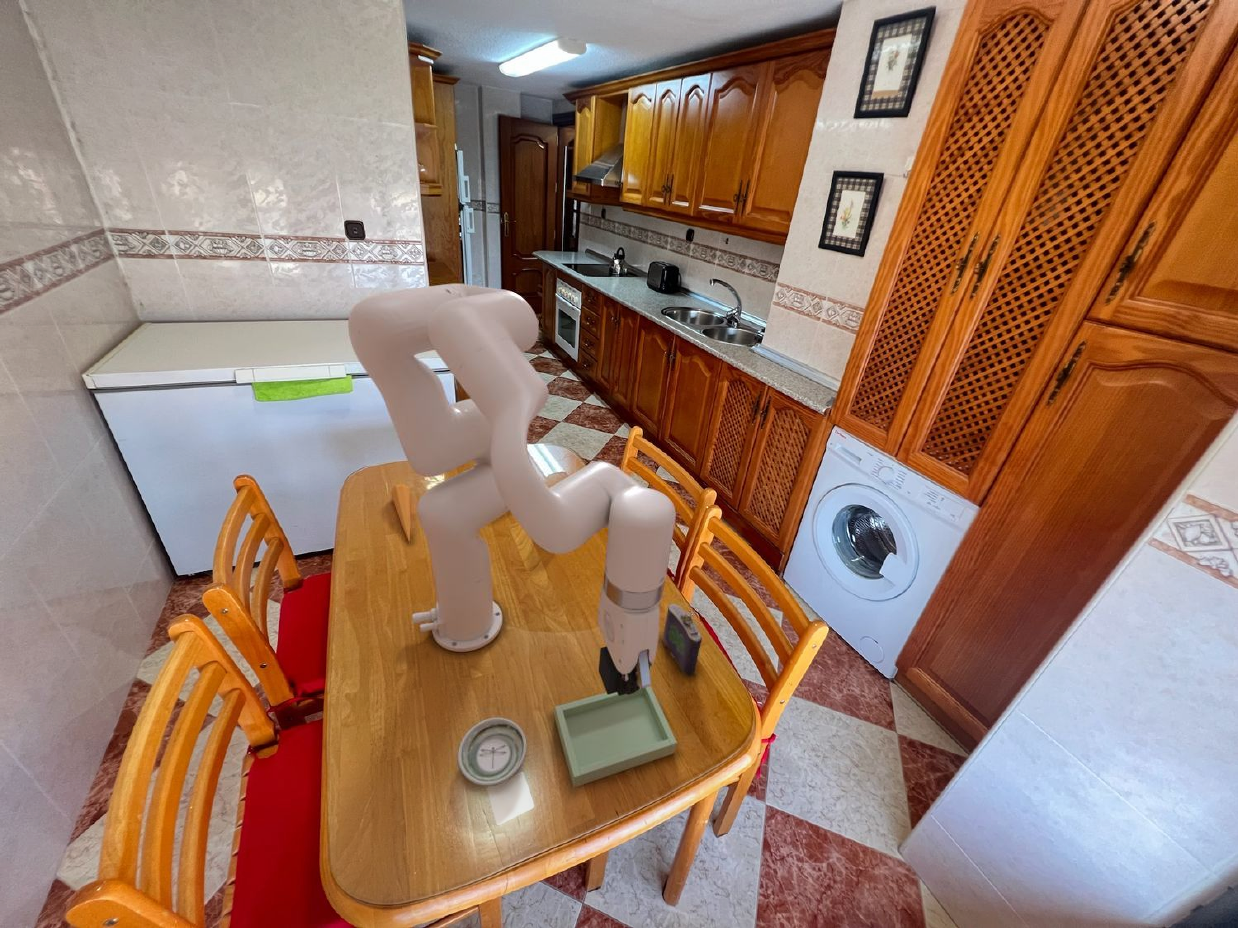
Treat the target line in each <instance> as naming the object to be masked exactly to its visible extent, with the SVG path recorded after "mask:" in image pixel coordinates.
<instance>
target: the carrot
mask: <svg viewBox="0 0 1238 928" xmlns="http://www.w3.org/2000/svg"><path fill="white" fill-rule="evenodd" d="M410 492H411V491H410V487H409V486H408V485H406V484H404V483H397V484H395V485H394V486H393V487H392V488H391V490H390V493H391V498H392V501H393V504H394V506H395V509H396V512H397V513H396V514H397V516H398V518H399V521H400V524H401V527H402V529H403V532H404V534H405V536H406V538H407V540H408V543H410V542H411V526H412V525H411V524H412V523H411V520H412V519H411V493H410Z"/></svg>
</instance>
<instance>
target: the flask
mask: <svg viewBox="0 0 1238 928" xmlns="http://www.w3.org/2000/svg"><path fill="white" fill-rule="evenodd" d="M666 613H667V614H666V619H665V622H664V623H665V624H664V628H663V633H662V638H661V640H662V644H663V646H664V647H665V648H667V650H668V652H669V654H670V656H671V657H672V659H673V658H674V659H675V663H676V664H678V665H679V668H680V670H681V672H682V673H683V674H684V675H686V676H688V677H690V676H693V675H694V674H695V673H696V667H697V663H698V657H699V653H700V649H701V646H702V645H701V644H702V642H703V636H702V634H701V632H700V630H699V628H698V626H697V624H696V623H695V622H694V620H693V618H692V617H694V613H693V612H691V610H689V611H688V612H686V611H685V610H684V608H682V607H681V606H679V604H676V603H671V604H669V605H668V607H667V612H666Z"/></svg>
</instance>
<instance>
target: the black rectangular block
mask: <svg viewBox="0 0 1238 928" xmlns="http://www.w3.org/2000/svg"><path fill="white" fill-rule="evenodd" d="M635 667H637V666H636V665H635ZM635 667H634V668H635ZM649 670H651V667H650V666H649ZM598 674H599V676H600V679H601V681H602V684H603V687H604V689H605V693H606V692H607V695H609V694H612V693H616V692H617V687H618V679H619V674H621V673H620V672H619V671H618V670H617V668H616V666H615V664H614V662H613V660H612V657H611V655H610V653H609V650H608V648H607V646H606V645H605V646H602V647H600V651H599V660H598Z"/></svg>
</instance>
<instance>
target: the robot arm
mask: <svg viewBox="0 0 1238 928" xmlns="http://www.w3.org/2000/svg"><path fill="white" fill-rule="evenodd" d="M347 326H348V327H347V328H348V335H349V340H350V344H351V347H352V349H353V352H354V354H355V356H356V358H357V360H358V361H359V363H360V365H361V366H362V368H363V369H364V371H365V372H366V374H367V375H368V376H369V378H370V379H371V381H372V382H373V383H374V385H375V387H376V389H377V390H378V391H379V393H380V395H381V397H382V399H383V401H384V404H385V407H386V409H387V412H388V414H389V415H388V416H389V418H390V419H391V423H392V425H393V427H394V430H395V433H396V435H397V438H398V441H399V443H400V445H401V448H402V451H403V453H404V456H405V458H406V460H407V462H408V464H409V466H410V467H411V469H412V470H413V471H414V472H415V473H416V474H417V475H419V476H421V477H425V478H431V477H437V476H440V475H443V474H446V473H448V472H450V471H452V470H455V469H457V468H459V467H461V466H464V465H466V464H468V463H470V462H473V464H474V466H473V467H471V468H468V469H466V470H464V471H462V472H459V473H457V474H455V475H453V476H450V477H449V478H447V479H444V480H442V481H441V482H439V483H437V484H435V485H433V486H432V487H431V488H429V489H428V490H427V491H426V492H424V493H423V494H422V496H421V497H420V498H419V500H418V503H417V506H416V513H417V517H418V520H419V523H420V526H421V528H422V530H423V533H424V536H425V538H426V542H427V546H428V551H429V554H430V555H429V556H430V561H431V566H432V574H433V581H434V582H433V583H434V586H435V587H434V588H435V594H436V595H435V597H436V603H435V606H436V607H434V608H431V609H430V610H429V611H425V612H423V611H421V612H415V613H412V624H413V626H415V625H418V624H419V628H420V629H419V631H420V633H425V632H426V633H427V632H430V631H431V633H432V636H433V639H434V640H435V642H436V643H437V644H438V645H439V646H440V647H441V648H443V649H446V650H448V651H452V652H456V653H457V652H459V653H462V652H463V653H464V652H471V651H475V650H478V649H481V648H483V647H485V646H486V645H488V644H490V643H491V642H492V641H493V640H494V639H495V638H496V637H497V636H498V635H499V633H500V631H501V629H502V626H503V613H502V610H501V607H500V606H499V605H498V604H497V603H496V602H495V601H494V598H493V596H494V595H493V585H492V584H493V582H492V567H491V551H490V547H489V545H488V543H487V541H486V540H485V538H484V537H482V536H481V535H480V534H478V533H479V532H480V531H481V530H482V529H483V528H485V527H486V526H488V525H490V524H491V523H492V522H494V521H495V520H497V519H499V518H500V517H502V516H503V515H505V514H507V513H508V512H510V513H511V515H512V516H513V517H514V519H515V520H516V521H517V522H518V524H519V526H520V527H521V528H522V529H523V531H524V532H525V533H526V534H527V535H528V537H529V538H530V539H531V540H532V541H533V542H534V543H535V544H536V545H537V546H538V547H540V548H541V549H543V550H544V551H546V552H548V553H550V554H553V555H554V554H555V555H565V554H566V555H567V554H569V553H571V552H573V551H576V550H577V549H578V548H580V547H581V546H582V545H584V544H585V543H587V541H589V540H590V539H591V538H593V537H594V536H595V535H597V534H598V533H599V532H601V530H603V529H607V539H606V549H605V550H606V551H605V562H604V572H603V573H604V574H603V580H602V581H603V582H602V585H601V588H600V595H599V601H598V607H597V608H598V609H597V625H598V628H599V631H600V633H601V636H602V639H603V641H604V644H605V647H606V646H607V648H608V650H609V653H610V655H611V657H612V660H613V662H614V664H615V666H616V668H617V670H618V671H619V672H620V673H621V674H619V679H618V687H617V693H618V695H619V696H621V695H624V694H627V695H629V694H633V693H635V692H636V691H638V690H639V689H640V688H641V689H642V688H646V687H649V686H651V687H652V680H651V673H650V669H649V666H650V668H651V667H652V666H653V665H654V663H655V660H656V656H657V652H658V644H659V633H660V603H661V602H662V600H663V596H664V591H665V590H664V589H665V584H666V578H667V573H668V567H669V560H670V555H671V550H672V549H671V548H672V545H673V537H674V531H675V525H676V517H677V516H676V515H677V512H676V511H677V510H676V508H675V504H674V503H673V502H672V500H671V499H670V497H669V496H667V495H666V494H664V493H663V492H661V491H659V490H656V489H654V488H651V487H650V488H649V487H644V486H643V485H641V484H640V483H639V482H637V481H636V480H635V479H634V478H633V477H631V476H630V475H628V474H627V473H626V472H624V471H623V470H622V469H620V468H619V467H617V466H616V465H614V464H612V463H610V462H607V461H604V460H603V461H601V460H599V461H593V462H590V463H589V464H587V465H585V466H583V467H582V468H580V469H579V470H577V471H576V472H574V473H571V474H570V475H568V476H566V477H565V478H563V479H562V480H560V481H559V482H558V481H557V483H555V484H554V485H551V486H550V487H548V486H547V484H546V483H545V481H544V480H543V479H542V477H541V476H540V474H539V473H538V472H537V470H536V468H535V467H534V464H533V463H532V459H531V458H530V457H531V456H530V453H529V450H528V432H529V428H530V425H531V423H532V421H533V420H534V419H535V418H536V417H537V416H538V415H539V414H540V412H541V411H542V409H544V406H545V405H546V403H547V402H548V399H549V394H550V391H549V388H548V385H547V383H546V382H545V381H544V380H543V378H542V377H541V376H540V374H538V372H537V370H536V369H535V368H534V367H533V365H532V364H531V362H530V361H529V360H528V358H527V357H526V356H525V354H524V352H528V351H529V350H530V349H531V348H532V347H534V345H535V344H536V343H537V340H538V337H539V331H540V329H539V321H538V318H537V316H536V313H535V311H534V309H533V308H532V306H531V305H530V304H529V303H528V302H527V301H526V300H525V298H524V297H522V296H521V295H519V294H517V292H516V293H515V292H513V291H512V290H507V289H501V288H494V287H486V286H479V285H474V284H468V283H467V284H466V283H446V284H438V285H430V286H422V287H412V288H405V289H403V288H402V289H395V290H390V291H385V292H381V293H378V294H377V293H376V294H373V295H370V296H368V297H365V298H363V299H361V300H360V301H358V302H357V303H355V305H354V306H353V307H352V309H351V311H350V313H349V316H348V322H347ZM431 351H434V352H436V353H437V355H438V356H439V358H440V359H441V360H442V362H443V364H445V366H446V367H447V368H448V370H449V371H450V373H451V374H452V376H453V377H454V378H455V379H456V381H457V382H458V383H459V385H460V386H461V387H462V389H463V391H465V393H466V394H467V395H468V397H469V398H468V399H464V400H460V401H457V402H454V403H452V404H451V403H450V402H449V400H448V397H447V395H446V392H445V387H444V385H443V383H442V381H441V379H440V378H439V376H438V375H437V373H436V372H435V371H434V370H433V369H432V368H431V367H430V366H429V365H427V364H426V363H425V362H424V361H422V360H421V359H419V358H418V357H417V356H415V355H418V354H422V353H427V352H431ZM426 622H428V623H426ZM635 665H636V666H637V667H635ZM634 667H635V668H634Z"/></svg>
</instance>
